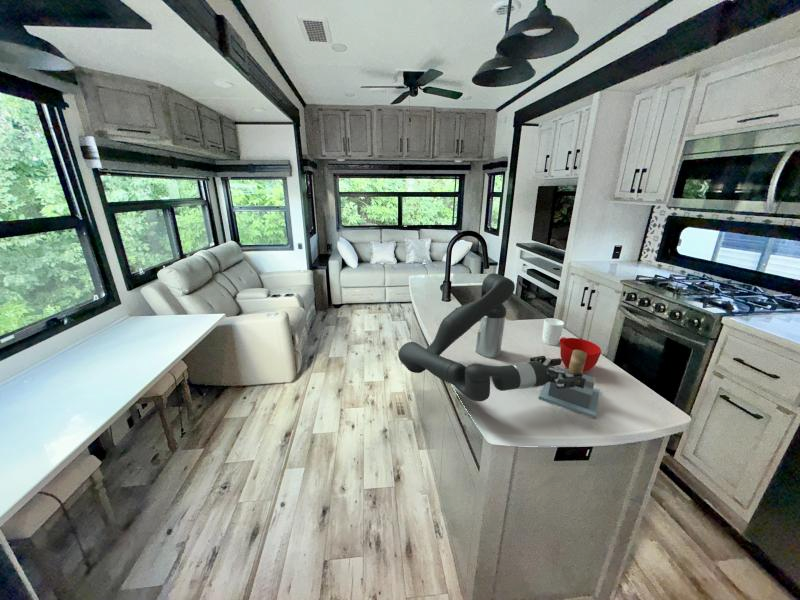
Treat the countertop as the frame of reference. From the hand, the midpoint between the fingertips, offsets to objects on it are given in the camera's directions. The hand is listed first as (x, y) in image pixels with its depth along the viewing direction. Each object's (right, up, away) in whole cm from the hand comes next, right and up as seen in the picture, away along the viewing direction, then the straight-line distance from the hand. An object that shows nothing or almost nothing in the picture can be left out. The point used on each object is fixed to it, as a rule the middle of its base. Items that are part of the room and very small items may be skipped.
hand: (570, 368), depth 97 cm
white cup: (+14, +2, +42) cm, 44 cm away
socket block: (+2, -10, +5) cm, 12 cm away
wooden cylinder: (+2, -9, +5) cm, 11 cm away
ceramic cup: (+13, -4, +23) cm, 26 cm away
